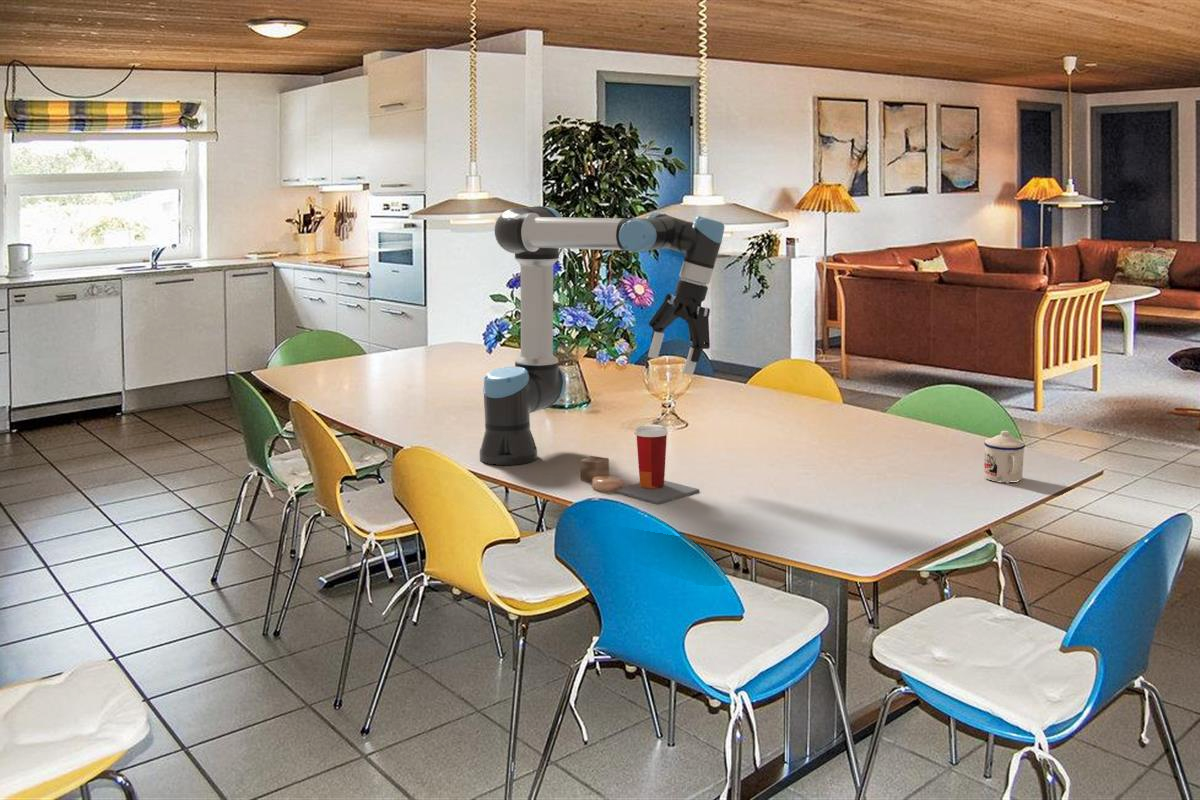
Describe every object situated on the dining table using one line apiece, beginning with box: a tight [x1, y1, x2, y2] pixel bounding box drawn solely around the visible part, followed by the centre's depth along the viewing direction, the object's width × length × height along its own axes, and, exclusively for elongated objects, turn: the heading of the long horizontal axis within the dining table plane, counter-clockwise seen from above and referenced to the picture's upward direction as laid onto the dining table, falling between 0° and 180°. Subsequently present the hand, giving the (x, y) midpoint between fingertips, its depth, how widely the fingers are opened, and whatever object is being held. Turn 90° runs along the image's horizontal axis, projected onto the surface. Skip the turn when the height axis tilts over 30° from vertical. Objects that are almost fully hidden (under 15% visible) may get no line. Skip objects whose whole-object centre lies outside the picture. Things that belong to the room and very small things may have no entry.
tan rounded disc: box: [591, 475, 623, 493], centre depth 266 cm, size 7×7×2 cm
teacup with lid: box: [983, 430, 1026, 482], centre depth 265 cm, size 12×9×12 cm
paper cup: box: [634, 424, 669, 489], centre depth 263 cm, size 8×8×14 cm
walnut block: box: [579, 455, 610, 483], centre depth 273 cm, size 5×5×5 cm
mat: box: [614, 479, 700, 505], centre depth 262 cm, size 14×14×1 cm
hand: (669, 365), depth 275 cm, fingers open, 13 cm apart
